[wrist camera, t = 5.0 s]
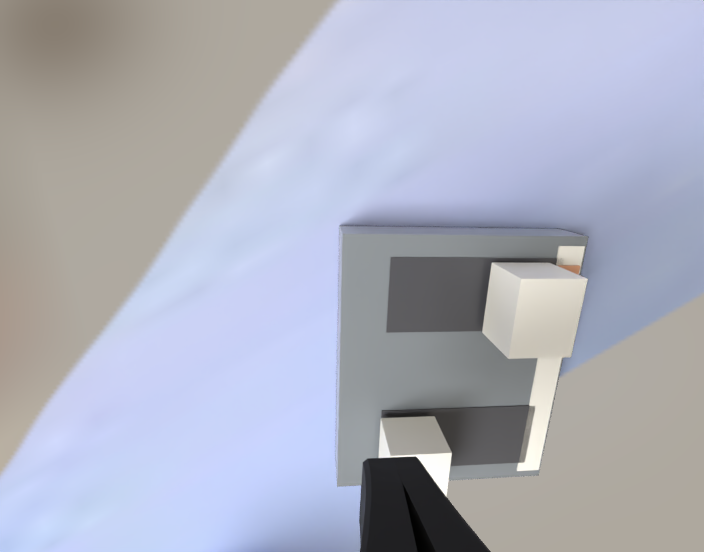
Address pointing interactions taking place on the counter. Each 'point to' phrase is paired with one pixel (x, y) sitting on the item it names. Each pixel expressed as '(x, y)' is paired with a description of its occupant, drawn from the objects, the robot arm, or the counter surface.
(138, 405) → the counter surface
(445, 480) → the switch tab
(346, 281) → the switch panel
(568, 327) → the switch tab
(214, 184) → the counter surface
